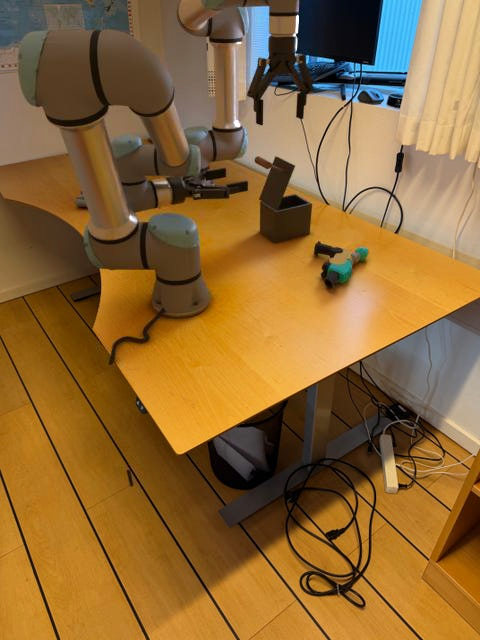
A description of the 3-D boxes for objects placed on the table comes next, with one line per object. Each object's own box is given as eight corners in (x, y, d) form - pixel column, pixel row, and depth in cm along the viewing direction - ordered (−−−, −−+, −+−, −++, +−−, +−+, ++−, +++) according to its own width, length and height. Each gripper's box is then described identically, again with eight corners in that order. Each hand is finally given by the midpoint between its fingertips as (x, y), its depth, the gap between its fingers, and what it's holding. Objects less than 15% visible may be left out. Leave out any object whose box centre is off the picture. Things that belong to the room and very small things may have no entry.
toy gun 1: (132, 197, 185) (117, 212, 173) (88, 194, 188) (70, 209, 177) (131, 187, 183) (115, 202, 171) (86, 184, 186) (67, 199, 174)
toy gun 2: (291, 269, 129) (345, 283, 123) (323, 233, 148) (371, 243, 142) (290, 283, 132) (343, 297, 126) (322, 246, 150) (369, 256, 145)
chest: (293, 223, 165) (295, 193, 158) (309, 233, 158) (312, 203, 151) (259, 231, 160) (260, 201, 153) (274, 243, 153) (276, 212, 146)
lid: (278, 156, 148) (254, 148, 142) (295, 165, 141) (271, 157, 136) (261, 200, 153) (238, 193, 148) (277, 210, 146) (254, 204, 141)
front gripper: (154, 191, 142) (217, 179, 150) (186, 220, 124) (257, 204, 132) (151, 166, 138) (216, 155, 146) (184, 192, 120) (257, 178, 128)
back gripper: (313, 31, 131) (308, 113, 144) (233, 36, 122) (235, 123, 134) (330, 33, 126) (323, 118, 138) (248, 39, 116) (248, 130, 129)
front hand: (236, 178), depth 139 cm, fingers open, 13 cm apart
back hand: (279, 121), depth 136 cm, fingers open, 13 cm apart
